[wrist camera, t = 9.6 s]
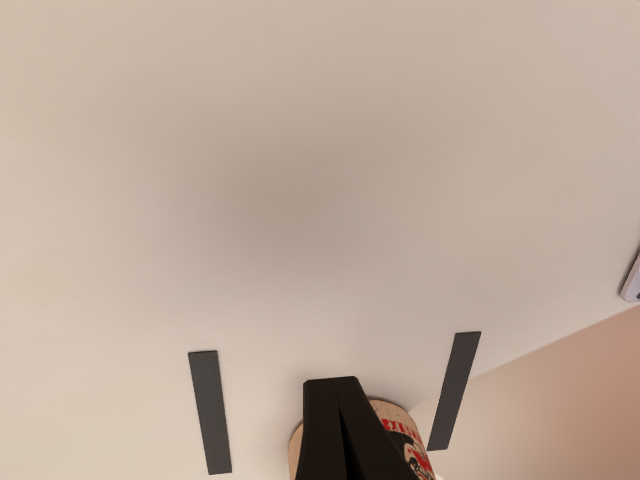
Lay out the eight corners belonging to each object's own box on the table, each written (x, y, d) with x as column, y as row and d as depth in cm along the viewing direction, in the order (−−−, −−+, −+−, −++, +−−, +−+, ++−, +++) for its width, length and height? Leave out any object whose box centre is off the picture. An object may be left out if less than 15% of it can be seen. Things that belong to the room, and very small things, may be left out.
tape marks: (480, 331, 25) (481, 332, 25) (446, 448, 31) (447, 449, 31) (188, 352, 23) (187, 354, 23) (208, 473, 29) (208, 475, 29)
